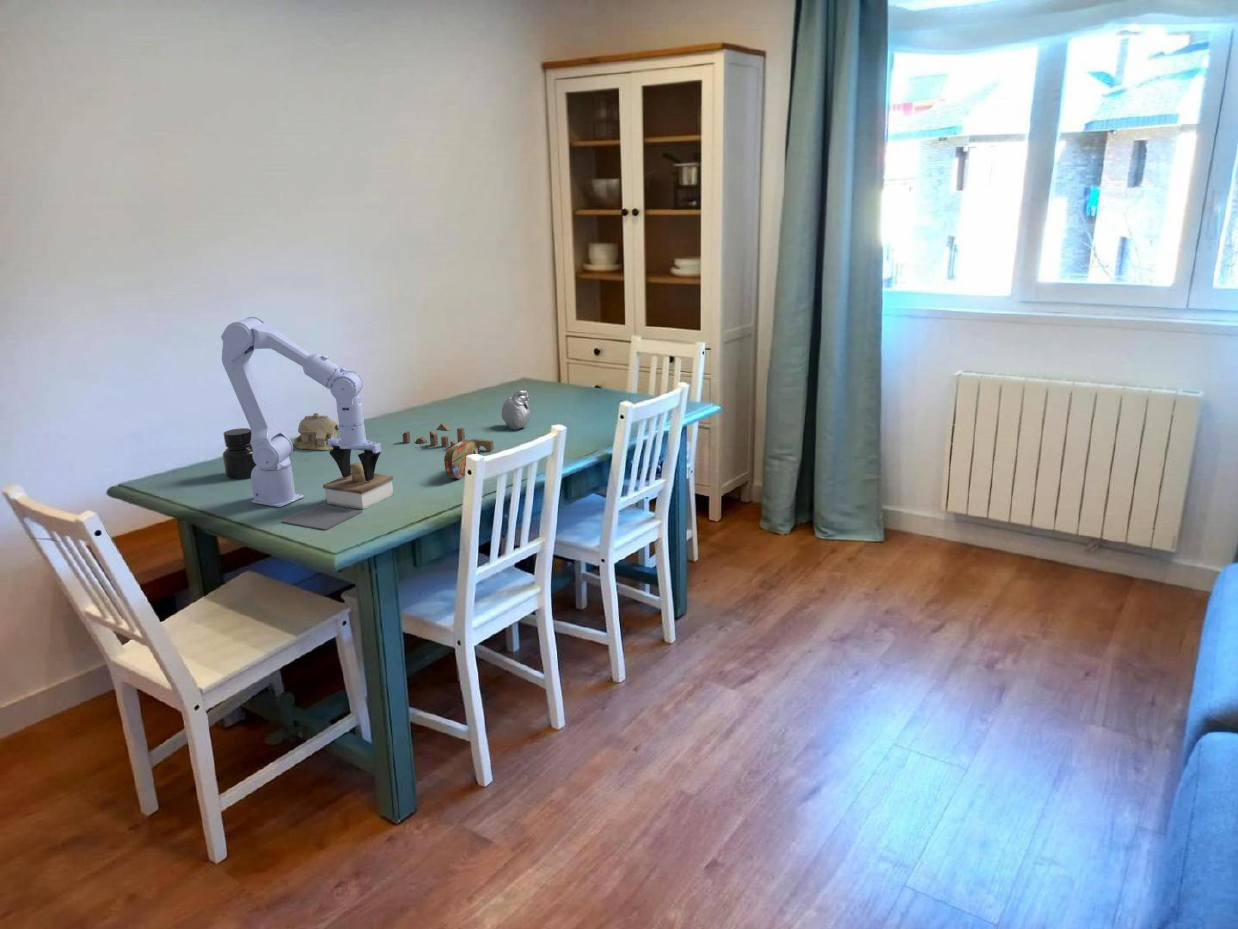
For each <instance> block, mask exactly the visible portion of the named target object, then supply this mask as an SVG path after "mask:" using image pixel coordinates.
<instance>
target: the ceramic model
mask: <svg viewBox="0 0 1238 929" xmlns="http://www.w3.org/2000/svg"><path fill="white" fill-rule="evenodd" d="M337 431H340V429H339V423H337V422H335V421H334V420H332V418H330V417H329V415H320V414H319V413H318V412H314V413H313V414H312V415H306V416H304V418H303V419H301V420H300V422H299V425H298V428H297V432H298V433H299V434H300V435H299V436H297V437H296V438H295V439H294V445H295V446H294V447H295V448H297V449H299V450H300V449H301V450H313V451H328V450H329V451H331V450H333V448H330V447H328V439H331V438H341V437H340V435H339V436H338V432H337Z"/></svg>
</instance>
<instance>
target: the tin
mask: <svg viewBox="0 0 1238 929" xmlns="http://www.w3.org/2000/svg"><path fill="white" fill-rule="evenodd" d="M474 439H475V438H471V439H465V440H462V441H461V442H459V443H458V442H457V444H456V445H454V446H452V447H451V446H450V447H449V448H448V449H447V450H446V452H445V454H444V457H443V458H444V460H443V462H444V469H445V474H446V476H448V478H450V479H458V480H461V479H463V478H464V475H465V466H466V456H467V455H468V454H481V453H480V452H481V450H480V449H479V446H478V444H477V442H476V441H475V440H474Z"/></svg>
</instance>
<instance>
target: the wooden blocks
mask: <svg viewBox="0 0 1238 929" xmlns="http://www.w3.org/2000/svg"><path fill="white" fill-rule="evenodd" d="M435 430H436V431H442V432H449V431H451V428H449V426H448V425H447V424H446V422H442V423H440V424H439V426H438V427H436V429H435ZM435 430H430V431H429V441H430V442H429V443H430V444H429V445H430V446H431V447H436V446H438V445H439V439H438V433H437V432H436V431H435ZM456 436H457V438H456V439H457V441H456V440H454V439H451V441H450V442H449V436H445V435H443V436H441V437H440V441H441V442H440V443H441V448H448V447H449V446H450V448H451V447H452V446H454V445H456V444H457V443H459V442H461V441H462V440H466V438H465V437H466V436H465V428H464V427H458V428H456ZM473 439H474V440H475V441H476V442H477V444H478V446H479V448H481V447H483V448H484V449H485V450H486V452H487V451H492V450H494V449H495V448H494V440H492V439H490V440H488V439H482V438H473ZM402 442H403V443H410V442H411V434H410V431H404V433H402ZM416 443H417V444H427V443H428V441H427V438H426V437H424V436H421V437H418V438H417V439H416V440H415V444H416ZM449 443H450V445H449ZM492 452H493V451H492Z"/></svg>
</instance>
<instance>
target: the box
mask: <svg viewBox="0 0 1238 929" xmlns="http://www.w3.org/2000/svg"><path fill="white" fill-rule="evenodd" d="M393 495H394V488H393V480H391V481H389V482H387V483H384V484H382V485H380V486H378V487H376V488H374V489H372V490H369V491H367V492H365V493H363V494H357V493H351V492H344V491H338V490H331V489H325V497H326V503H327V504H328V505H331V506H337V507H338V506H339V507H343V508H349V509H355V510H356V509H357V510H361V511H363V510H366V509H368V508H370V507H372V506H374V505H376V504H378V503H380V502H382V501H385V500H386V499H388V498H390V497H392V496H393ZM327 504H326V505H327Z"/></svg>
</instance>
